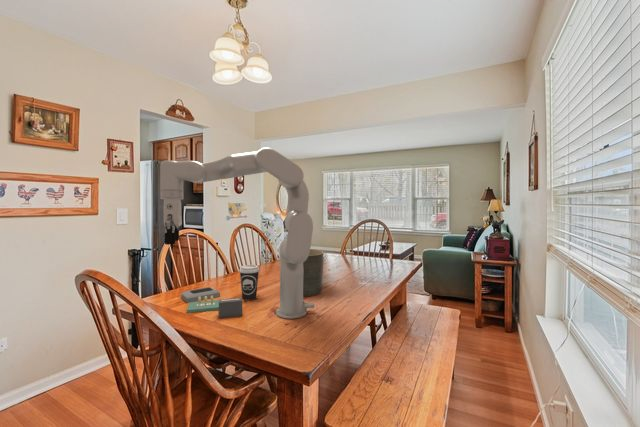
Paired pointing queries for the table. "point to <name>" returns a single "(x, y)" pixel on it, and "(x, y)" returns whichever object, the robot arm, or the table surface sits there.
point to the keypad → (199, 294)
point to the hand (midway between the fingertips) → (172, 242)
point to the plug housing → (230, 307)
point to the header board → (203, 305)
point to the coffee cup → (249, 281)
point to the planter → (313, 273)
